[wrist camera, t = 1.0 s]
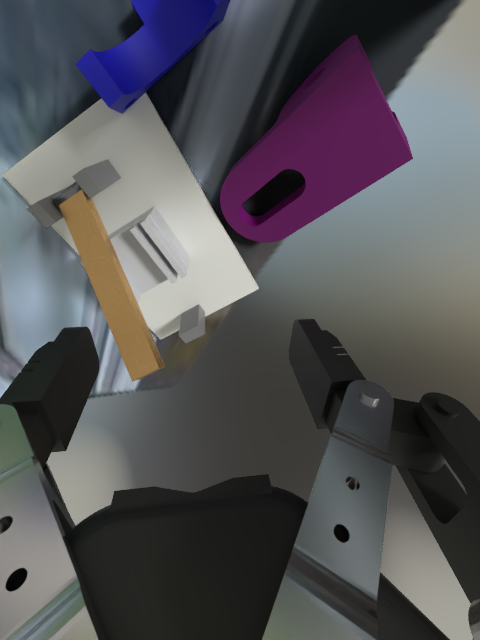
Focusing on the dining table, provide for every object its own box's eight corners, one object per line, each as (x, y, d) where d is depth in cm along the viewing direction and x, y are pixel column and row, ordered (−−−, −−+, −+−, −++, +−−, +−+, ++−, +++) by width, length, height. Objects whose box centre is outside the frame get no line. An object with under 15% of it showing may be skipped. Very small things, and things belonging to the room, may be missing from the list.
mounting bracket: (269, 216, 41) (401, 122, 29) (258, 254, 36) (413, 159, 24) (222, 164, 36) (356, 26, 24) (202, 198, 31) (358, 47, 19)
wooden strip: (62, 201, 27) (49, 195, 26) (89, 182, 26) (77, 175, 25) (137, 379, 25) (128, 383, 24) (169, 364, 24) (160, 367, 23)
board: (135, 74, 26) (112, 58, 20) (258, 286, 40) (268, 317, 34) (6, 173, 30) (-50, 188, 23) (161, 336, 44) (153, 373, 37)
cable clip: (189, -49, 22) (192, -103, 17) (223, 20, 25) (233, -11, 20) (82, 60, 24) (56, 39, 19) (122, 113, 27) (108, 107, 22)
